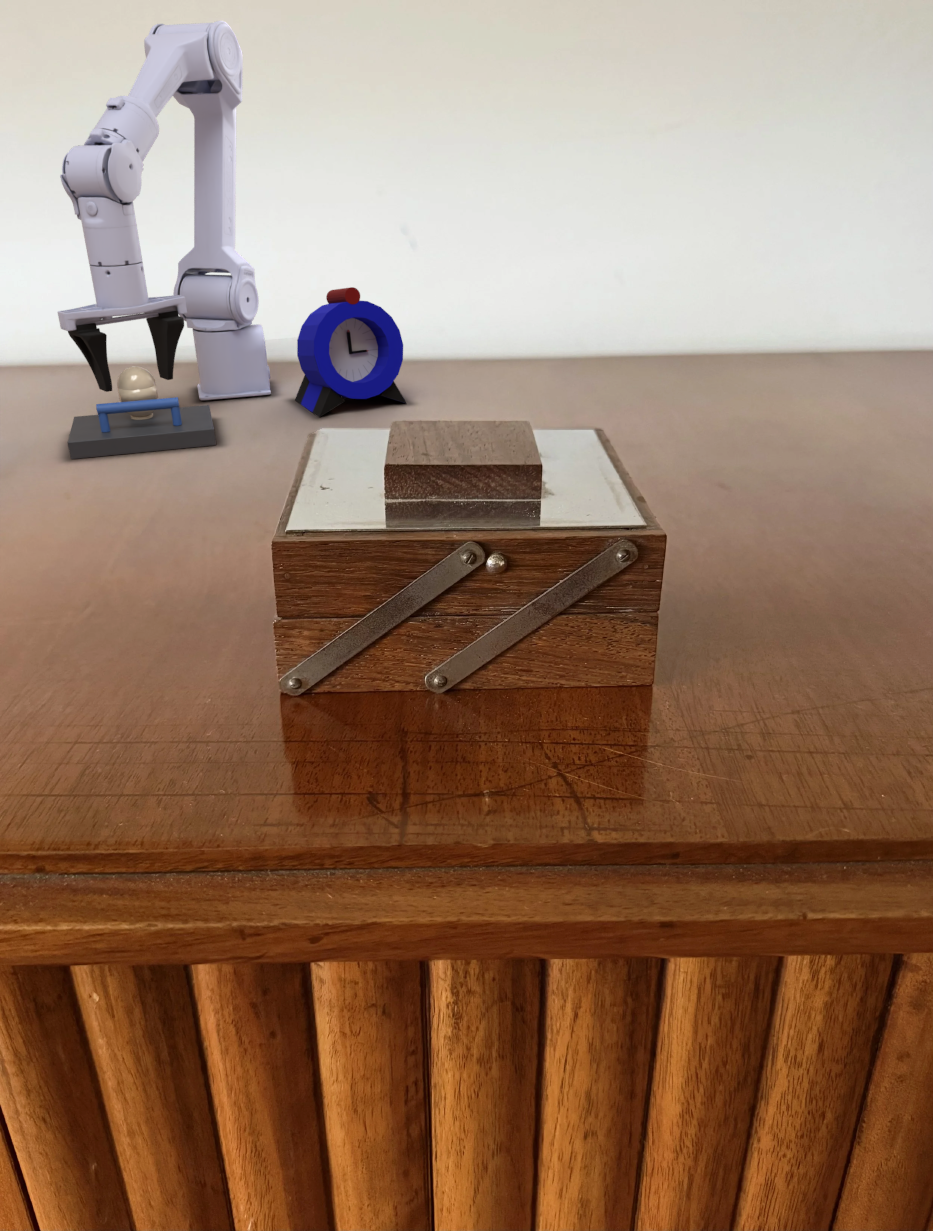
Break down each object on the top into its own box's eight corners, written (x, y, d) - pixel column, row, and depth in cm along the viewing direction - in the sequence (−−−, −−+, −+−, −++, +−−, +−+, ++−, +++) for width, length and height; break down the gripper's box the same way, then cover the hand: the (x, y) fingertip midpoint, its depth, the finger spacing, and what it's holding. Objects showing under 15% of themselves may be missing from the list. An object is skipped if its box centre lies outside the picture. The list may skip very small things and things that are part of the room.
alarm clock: (321, 418, 124) (310, 294, 117) (289, 396, 133) (278, 280, 127) (409, 405, 129) (404, 285, 122) (373, 384, 138) (366, 272, 132)
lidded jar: (150, 409, 121) (142, 360, 119) (167, 416, 118) (159, 366, 116) (116, 416, 119) (107, 366, 116) (133, 424, 116) (124, 373, 113)
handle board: (211, 420, 124) (205, 378, 122) (216, 445, 114) (210, 400, 112) (77, 432, 120) (68, 390, 118) (70, 459, 111) (61, 413, 108)
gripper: (159, 253, 117) (176, 367, 124) (37, 266, 109) (63, 389, 115) (188, 258, 113) (204, 377, 119) (63, 272, 104) (88, 400, 110)
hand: (136, 383), depth 117 cm, fingers open, 7 cm apart
